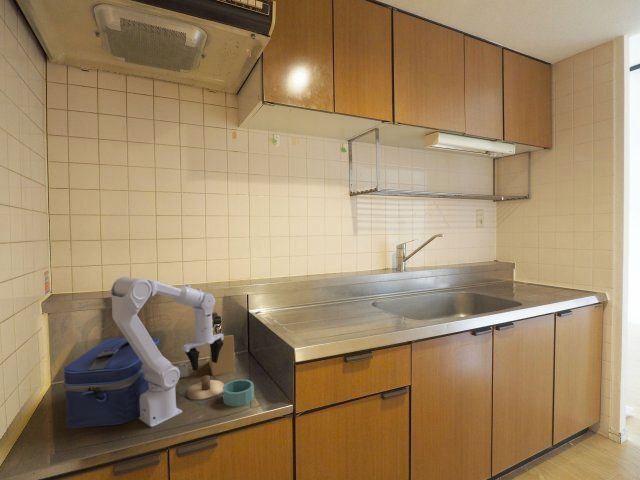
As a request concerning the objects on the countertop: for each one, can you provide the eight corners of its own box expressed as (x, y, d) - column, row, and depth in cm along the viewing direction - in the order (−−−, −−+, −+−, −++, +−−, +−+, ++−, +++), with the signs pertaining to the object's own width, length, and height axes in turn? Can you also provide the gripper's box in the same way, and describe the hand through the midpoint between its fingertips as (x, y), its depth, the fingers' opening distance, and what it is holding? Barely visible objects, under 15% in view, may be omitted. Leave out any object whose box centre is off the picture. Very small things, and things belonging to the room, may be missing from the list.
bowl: (236, 410, 104) (236, 396, 104) (217, 401, 110) (216, 388, 110) (259, 397, 112) (259, 384, 112) (240, 389, 117) (240, 376, 117)
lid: (200, 404, 108) (200, 389, 108) (179, 393, 115) (178, 379, 115) (232, 388, 118) (231, 374, 117) (210, 379, 125) (210, 366, 125)
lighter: (177, 379, 127) (176, 358, 126) (176, 377, 128) (176, 356, 128) (197, 375, 129) (196, 355, 129) (196, 373, 131) (196, 353, 131)
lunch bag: (130, 431, 95) (127, 359, 94) (48, 438, 92) (44, 365, 91) (165, 380, 126) (163, 326, 125) (104, 385, 123) (102, 330, 122)
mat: (200, 405, 107) (200, 404, 107) (178, 394, 115) (178, 393, 115) (233, 389, 118) (233, 388, 118) (210, 379, 126) (210, 378, 126)
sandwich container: (229, 358, 145) (228, 324, 145) (235, 372, 131) (234, 334, 131) (208, 362, 142) (207, 327, 141) (212, 377, 128) (210, 338, 127)
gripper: (191, 334, 107) (192, 376, 108) (228, 323, 119) (229, 361, 119) (179, 331, 111) (180, 371, 112) (216, 320, 123) (217, 356, 124)
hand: (205, 365), depth 116 cm, fingers open, 7 cm apart
